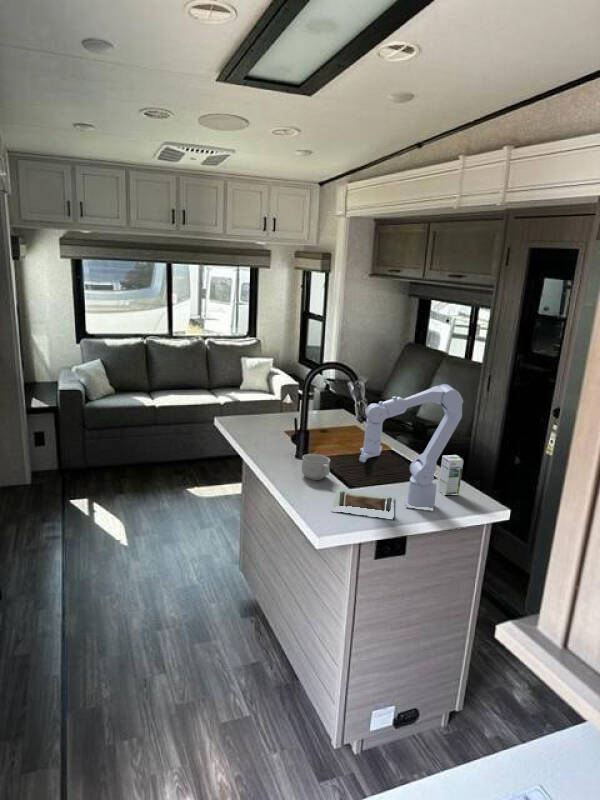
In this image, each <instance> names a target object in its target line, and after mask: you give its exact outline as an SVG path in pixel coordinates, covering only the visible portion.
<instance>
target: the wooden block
mask: <svg viewBox="0 0 600 800" xmlns="http://www.w3.org/2000/svg"><path fill="white" fill-rule="evenodd" d="M385 502H386V499H385V498H382V499H381V498H374V497H366V496H358V495H351V494H348V493H346V497H345V506H352V507H360V508H367V509H375V510H382V511H384V510H385Z"/></svg>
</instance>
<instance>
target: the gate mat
mask: <svg viewBox="0 0 600 800" xmlns="http://www.w3.org/2000/svg"><path fill="white" fill-rule="evenodd" d="M340 491H344V492H345V496H344V506H345V497H346V493H348V494H351V495H358V496H366V497H374V498H381V499H382V498H385V499H386V500H387V498H388V497H390V498H392V501H393V500H394V499H396V498H395V496H391V495H390V496H388V495H383V494H382V495H381V494H373V493H366V492H359V491H352V490H344V489H338V488H337V489H336V491H335V496H334V500H333V504H332V507H334V508H335V507H336V506H337V507H338V505H339V499H340ZM339 507H340V506H339ZM346 507H347V506H346Z"/></svg>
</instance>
